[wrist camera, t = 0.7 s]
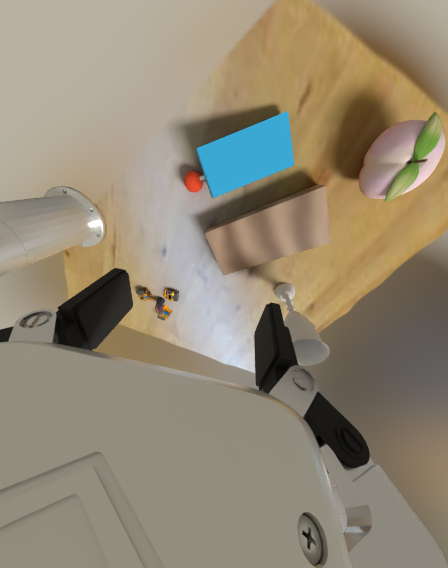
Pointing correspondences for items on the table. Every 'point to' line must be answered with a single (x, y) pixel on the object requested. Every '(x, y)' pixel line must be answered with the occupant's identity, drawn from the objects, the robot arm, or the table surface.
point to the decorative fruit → (402, 158)
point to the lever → (243, 156)
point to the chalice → (301, 330)
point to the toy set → (160, 301)
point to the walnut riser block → (272, 231)
